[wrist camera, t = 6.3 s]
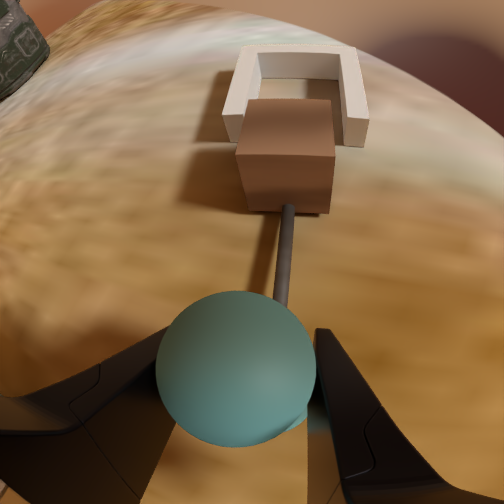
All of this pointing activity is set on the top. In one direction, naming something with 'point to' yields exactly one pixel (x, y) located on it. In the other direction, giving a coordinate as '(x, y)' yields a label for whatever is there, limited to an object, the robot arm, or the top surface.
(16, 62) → the canister
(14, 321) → the top surface
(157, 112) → the top surface
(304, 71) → the lane
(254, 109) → the tethered block
